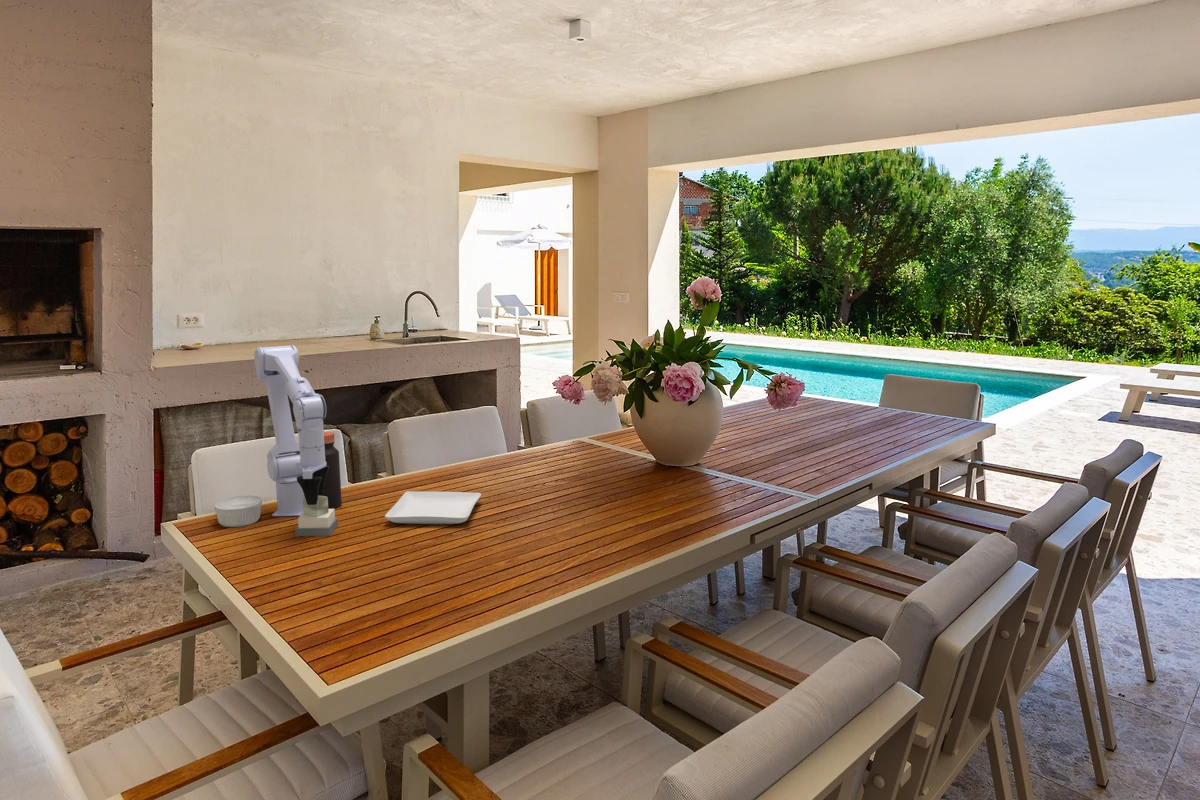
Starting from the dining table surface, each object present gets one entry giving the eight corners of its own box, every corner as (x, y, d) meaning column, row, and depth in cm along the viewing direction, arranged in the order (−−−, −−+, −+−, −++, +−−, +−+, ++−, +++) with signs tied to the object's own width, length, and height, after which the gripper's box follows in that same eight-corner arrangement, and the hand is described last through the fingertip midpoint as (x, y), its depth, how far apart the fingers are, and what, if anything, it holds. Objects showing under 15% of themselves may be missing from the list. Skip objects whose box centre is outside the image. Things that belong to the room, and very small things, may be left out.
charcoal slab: (306, 527, 197) (305, 518, 197) (338, 527, 198) (337, 517, 197) (295, 538, 190) (295, 528, 189) (329, 538, 190) (328, 528, 190)
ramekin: (229, 532, 193) (227, 511, 192) (206, 523, 200) (205, 503, 199) (272, 520, 202) (270, 500, 201) (249, 512, 208) (247, 492, 207)
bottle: (314, 504, 215) (309, 432, 211) (340, 501, 218) (336, 430, 214) (316, 511, 209) (312, 437, 205) (343, 507, 212) (339, 435, 208)
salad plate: (468, 529, 196) (467, 516, 196) (383, 528, 197) (383, 515, 196) (482, 503, 217) (482, 491, 216) (406, 502, 217) (405, 490, 217)
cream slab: (306, 519, 196) (305, 509, 196) (334, 518, 197) (334, 508, 197) (298, 528, 190) (298, 518, 189) (328, 527, 190) (328, 517, 190)
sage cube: (315, 510, 195) (314, 494, 194) (328, 512, 194) (327, 496, 193) (304, 515, 192) (303, 499, 191) (317, 517, 190) (316, 501, 189)
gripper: (301, 439, 196) (304, 491, 199) (287, 453, 182) (291, 509, 185) (330, 438, 197) (333, 490, 200) (319, 452, 183) (322, 508, 186)
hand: (315, 499), depth 192 cm, fingers open, 7 cm apart
